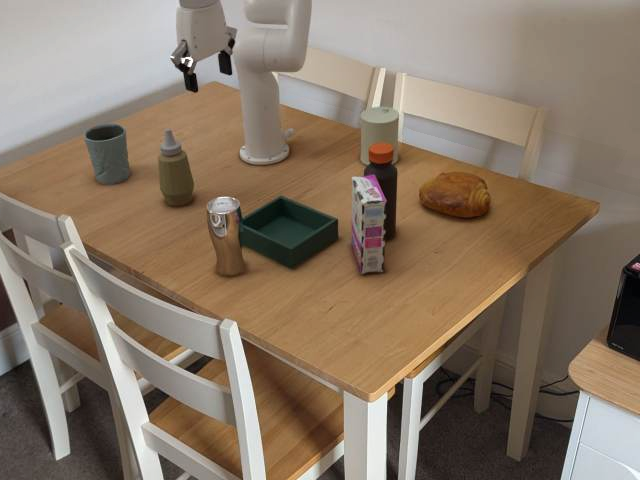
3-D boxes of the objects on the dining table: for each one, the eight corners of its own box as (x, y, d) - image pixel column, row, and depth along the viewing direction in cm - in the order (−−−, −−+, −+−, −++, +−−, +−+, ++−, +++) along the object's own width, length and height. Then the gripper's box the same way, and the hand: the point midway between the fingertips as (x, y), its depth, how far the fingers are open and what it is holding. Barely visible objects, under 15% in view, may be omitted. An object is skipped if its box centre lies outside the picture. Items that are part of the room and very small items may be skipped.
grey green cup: (86, 183, 199) (75, 138, 192) (106, 164, 207) (97, 121, 199) (121, 187, 196) (112, 142, 189) (140, 168, 203) (132, 124, 196)
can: (404, 154, 198) (406, 108, 191) (388, 170, 192) (389, 123, 185) (370, 147, 202) (370, 102, 195) (353, 163, 196) (353, 117, 189)
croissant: (468, 236, 171) (475, 205, 165) (407, 206, 178) (412, 176, 173) (502, 205, 179) (510, 176, 173) (442, 178, 186) (448, 149, 180)
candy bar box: (385, 272, 159) (387, 200, 149) (361, 275, 159) (361, 204, 149) (374, 242, 168) (375, 172, 158) (350, 245, 168) (350, 175, 158)
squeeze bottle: (191, 209, 185) (180, 138, 174) (158, 208, 187) (145, 137, 175) (200, 192, 191) (190, 121, 180) (167, 191, 193) (155, 121, 182)
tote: (282, 213, 180) (280, 195, 177) (338, 238, 171) (338, 218, 168) (235, 241, 173) (233, 222, 170) (292, 269, 163) (291, 249, 160)
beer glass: (252, 260, 167) (245, 197, 157) (240, 279, 162) (233, 215, 152) (221, 256, 169) (212, 194, 159) (209, 275, 164) (199, 212, 154)
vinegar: (387, 245, 167) (389, 158, 155) (358, 237, 170) (358, 152, 158) (400, 229, 171) (403, 143, 159) (371, 222, 175) (372, 137, 162)
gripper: (216, -20, 159) (226, 63, 170) (151, 7, 150) (166, 93, 161) (243, -14, 155) (251, 71, 166) (177, 14, 146) (191, 102, 157)
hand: (209, 82), depth 164 cm, fingers open, 9 cm apart
